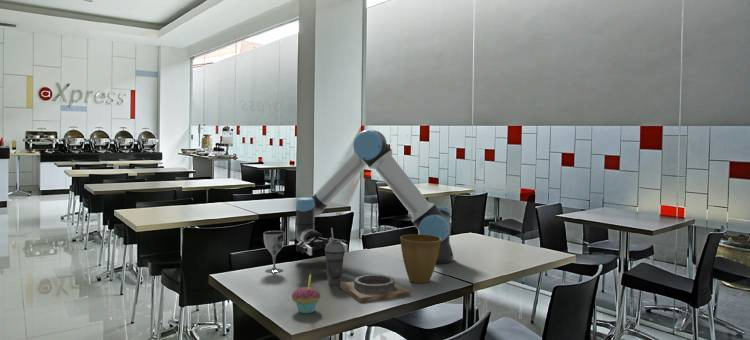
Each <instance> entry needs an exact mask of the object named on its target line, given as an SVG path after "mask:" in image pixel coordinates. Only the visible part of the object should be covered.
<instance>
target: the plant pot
mask: <svg viewBox="0 0 750 340" xmlns="http://www.w3.org/2000/svg"><path fill="white" fill-rule="evenodd" d="M399 237H400V246H401V248H400V249H401V253H402V254H401V255H402V258H403V259H402V260H403V263H404V267H405V271H406V274H407V278H408V280H409V282H412V283H416V284H427V283H429V282H430V281H431V279H432V275H433V273H434V271H435V267H436V265H437V264H436V261H437V258H438V254H439V249H440V244H441V238H439V237H437V236H432V235H423V234H420V233H417V234H415V233H414V234H405V235H404V234H403V235H401V236H399Z"/></svg>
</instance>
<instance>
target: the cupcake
mask: <svg viewBox="0 0 750 340" xmlns="http://www.w3.org/2000/svg"><path fill="white" fill-rule="evenodd" d="M311 281H312V272H310V273H309V276H308V281H307V286H302V287H299V288H297V289H295V290H294V291H293V292H292V294H291V300H292V301H293V302H294V303H295V304H296V307H297V310H298V312H299V313H301V314H311V313H313V312H315V310H316V307H317V304H318V302H319V300H320V299H321V294H320V291H319V290H318V289H317V288H314V287H311Z"/></svg>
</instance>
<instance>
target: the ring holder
mask: <svg viewBox="0 0 750 340" xmlns="http://www.w3.org/2000/svg"><path fill="white" fill-rule="evenodd" d="M339 285H340V287H339V288H341V289H342V290H343V291H344V292H345V293H347V294H348V295H350V296H351V297H352V298H353V299H355V300H356V301H357V302H358V303H367V302H375V301H382V300H391V299H397V298H406V297H410V296H411V291H410V290H408V289H407V288H405V287H403V286H401V285H400V284H398V283H396V282H395V278H394V277H391V276H390V275H389V276H388V275H382V274H364V275H360V276H357V277H355V278H354V281H347V282H341V283H340V284H339Z"/></svg>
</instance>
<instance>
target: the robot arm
mask: <svg viewBox="0 0 750 340" xmlns="http://www.w3.org/2000/svg"><path fill="white" fill-rule="evenodd" d="M352 147H353V153H352V154H351V155H350V156H349V158H348V159H346V161H344V163H343V164H342V165H341V167H339V168H338V170H337V171H335V172H334V174H333V175H332V176H331V177H330V178H329V179H328V180H327V181H325V183H324V184H323V185H322V186H321V188H319V189H318V190H317V192H315V194H314V195H313V196H312V197H299V198H297V199H296V205H295V209H296V210H295V211H296V215H295V216H296V219H295V220H296V225H295V228H294V231H293V237H294V239H295V240H296V241H297V242H298V243H296V246H295V247H296V248H295V251H296V252H301V254H305V253H306V254H307V255H308V256H313V251H317V250H319V249H321V248H324V249H325V247H326V245H327V243H328V242H329V241H331V240H332V237H329V238H324V236H323V235H322V233H320V232H318V231H317V230H315V218H316V217H318V216H320V215H321V214H322V213H323V212H324V210H325V209H326V208H327V207H328V206H329V204H330V203H332V201H334V200H335V199H336V197H337V196H338V195H339V194H340V193H341V192H342V191H343V190H344V189H345V188H346V187H347V186H348V185H349V184H350V183H351V182H353V180H354V179H355V178H356V177H357V176H358V175H359V174H360V173H361V172H362V171H363V170H364V168H366V166H367V167H368V168H369V169H372V170H373V169H374V170H375V171H376V173H378V174H379V176H380V177H381V178H382V180H383V181H384V182H385V184H386V185H387V186H388V188H389V189H390V190H391V191H392V192H393V194H394V195H395V196H396V197H397V199H398V200H399V201H400V203H401V205H403V206H404V208H405V209H406V210H407V211H408V213H409V214H410V215H411V223H412V224H413V225H414V227H415V228H416V229H417V230H418V234H423V235H432V236H437V237H439V238H441V244H440V249H439V254H438V258H437V261H436V265H437V264H449V263H452V262H454V254H453V253H454V252H453V250H452V247H451V243H450V237H451V233H450V232H451V230H450V229H451V226H450V225H451V219H450V218H451V209H450V207H447V206H437V205H436V204H435V203H434V202H433V203H432V202H429V201H428V200H427V199H426V197H425V196H424V195H423V194H422V192H421V191H420V190H419V188H418V187H417V185H415V183H413V181H412V180H411V179H410V177H409V176H408V175H407V173H406V172H405V171H404V170H403V168H402V167H401V165H400V164H399V163H398V162H397V161H396V159H395V158H394V157H393V150H392V149H391V147H390V146H389V144H388V143H387V139H386V137H385V135H384V134H383V133H382V132H380V131H378V130H373V129H365V130H362V131H361V132H359V133H358V134H357V135H355V138H354V141H353V144H352ZM334 240H338V241H340V242H341V243H342V244H343V246H344V250H345V252H344V254H345V253H348V240H345V239H338V238H334Z"/></svg>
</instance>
